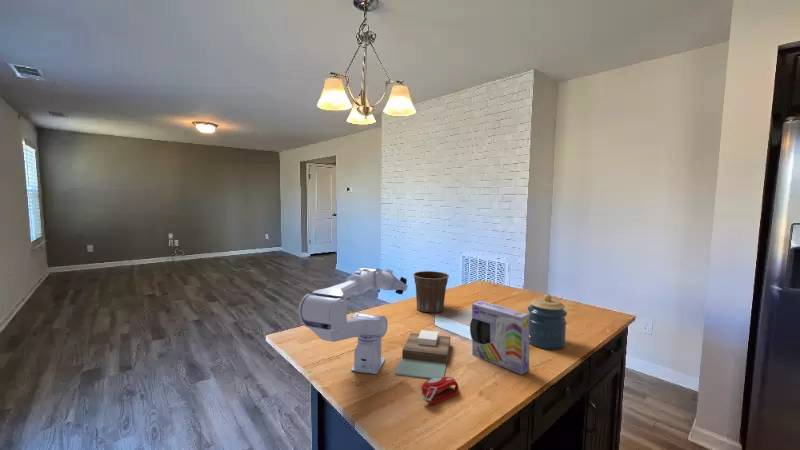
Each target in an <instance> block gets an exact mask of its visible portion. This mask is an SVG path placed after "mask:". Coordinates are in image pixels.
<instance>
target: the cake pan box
mask: <svg viewBox="0 0 800 450" xmlns="http://www.w3.org/2000/svg"><path fill="white" fill-rule="evenodd" d="M471 313H472V314H471V320H470V324H469V332H470V333H469V334H470V337H471V341H472V343H471V345H472V346H471V347H472V348H471V349H472V350H471V351H472V353H471V354H472V355H473V356H476V357H478V358H480V359H483V360H484V361H488V362H490V363H492V364H494V365H497V366H499V367H502V368H504V369H506V370H509V371H510V372H511V371H512V372H514V373H516V374H519V375H521V376H522V375H524V374H525V373H527V372H529V371H530V343H529V313H525V312H521V311H519V310H515V309H511V308H509V307H506V306H502V305H499V304H494V303H489V302H486V301H483V300H479V301H476V302H473V303H472V304H471Z"/></svg>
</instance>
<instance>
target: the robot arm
mask: <svg viewBox="0 0 800 450" xmlns="http://www.w3.org/2000/svg"><path fill="white" fill-rule="evenodd" d="M393 272H394V271H393V270H392V269H389V268H387V269H386V270H385V271H383V270H382V269H380V268H366V267H359V268H358V269H357V270H356V271H354V272H353V273H354V274H352V275H349V276H348V277H347V278H346V281H345V282H341V283H339V284H335V285H332V286H329V287H326V288H320V289H315V290H314V291H312V294H311V293H307V294H305V295H303V297H302V299H301V300H300V301H299V305H298V316H299V317H298V318H299V320H300V323H301V325H302V326H304V327H306V328H308V329H309V330H311V331H312V332H313V333H314V334H316V336H317V337H318V338H319V339H320V340H323V341H327V342H331V343H335V342H339V341H344V340H348V339H352V338H357V345H356V347H355V348H354V353H353V354H354V356H353V357H354V360H353V361H354V364H353V366H352V367H351V370H350V371H352V372H359V373H364V374H372V375H377V374H379V371H380V370H381V368H382V366H383V364H384V362H385V361H386V357H382V338H384V337H385V335H386V334H387V331H388V325H389V324H388V323H389V322H388V319H387V316H385V315H376V314H370V313H364V312H363V313H362V312H356V313H355V314H354V315H351V317H350V318H347V317H348V314H347V309H348V302H347V298H349V297H350V296H352V295H353V296H359V295H361V294H363V293H365V292H366V291H368V290H370V289H376V290H383V291H395V294H398V295H403V294H404V291H405V292H407V291H408V287H409V285H408V284H407V281H408V279H407V278H405V277H403V276H401V277H400V279H399V278H398V277H397V276H396V275H394V274H393Z"/></svg>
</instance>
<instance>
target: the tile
mask: <svg viewBox="0 0 800 450" xmlns="http://www.w3.org/2000/svg"><path fill="white" fill-rule="evenodd" d="M419 334H420V335H419V337H418V344H423V345H432V346H436V344H437V341H438V336H439V331H434V330H433V331H432V330H423V329H421V330H420V332H419Z"/></svg>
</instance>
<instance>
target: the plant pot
mask: <svg viewBox="0 0 800 450" xmlns="http://www.w3.org/2000/svg"><path fill="white" fill-rule="evenodd" d="M412 275H413V278H414V284H415V295H416V296H415V297H416V298H415V299H416V300H415V301H416V309H417V310H418V311H420V312H423V313H427V312H428V313H429V314H438V313H441V312H443V311H444V307H445V306H444V305H445V299H446V290H447V285H448V280H449V278H450V275H449V274H448V273H445V272H442V271H441V272H440V271H434V270H433V271H431V270H428V271H426V270H423V271H416V272H414V273H413V274H412ZM442 310H443V311H442ZM440 311H441V312H440ZM437 312H438V313H437Z"/></svg>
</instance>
